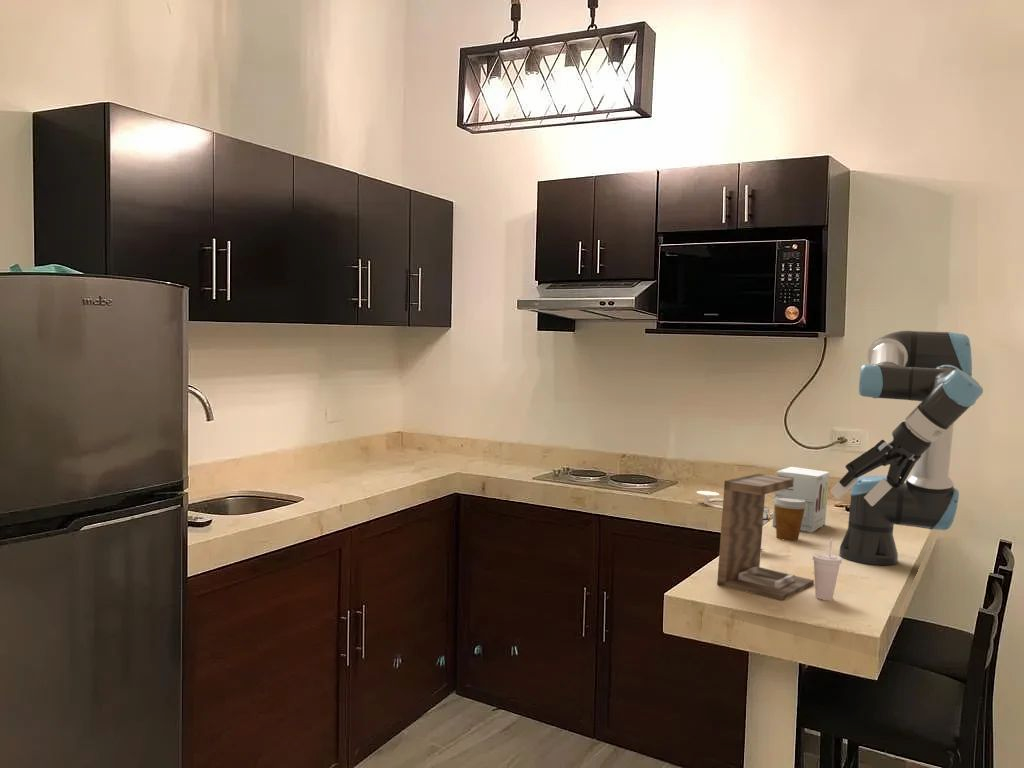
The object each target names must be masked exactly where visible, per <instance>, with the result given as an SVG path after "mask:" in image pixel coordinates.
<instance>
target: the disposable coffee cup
mask: <svg viewBox="0 0 1024 768" xmlns="http://www.w3.org/2000/svg"><path fill="white" fill-rule="evenodd" d="M774 500H775V501H773V505H775V517H776V526H775V530H776V531H775V534H776V535H775V536H776V538H777V539H779V538H780V539H779V540H782V539H784V540H783V541H787V540H790V542H795V540H796V541H798V540H799V537H800V532H801V531H800V528H801V523H802V518H803V514H804V509H805V507H806V503H805V500H803V499H799V498H793V497H776V498H775V497H774Z"/></svg>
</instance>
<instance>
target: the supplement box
mask: <svg viewBox="0 0 1024 768" xmlns="http://www.w3.org/2000/svg"><path fill="white" fill-rule="evenodd" d="M830 474H831V473H830V471H825V470H819V469H810V468H803V467H796V466H789V467H785V468H782V469H780V470H777V471H776V475H775V476H778V477H785V478H791V479H793V487H790V488H786V489H782V490H779V491H775V492H774V501H775V498H776V497H793V498H799V499H803V500H805V503H806V507H805V509H804V514H803V518H802V523H801V528H800V530H801V531H800V532H806V531H807V533H811V532H812V533H813V532H815V531H816V530H819V529H820V527H821V528H823V527H824V526H826V521H827V519H826V518H827V505H828V493H829V492H828V491H829V484H830V483H829V481H830ZM774 501H773V502H774ZM773 505H774V504H773ZM823 525H824V526H823ZM772 526H773V527H776V517H775V505H774V506H773V515H772ZM818 528H819V529H818Z"/></svg>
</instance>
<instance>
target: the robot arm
mask: <svg viewBox="0 0 1024 768" xmlns="http://www.w3.org/2000/svg"><path fill="white" fill-rule="evenodd" d="M972 359H973V358H972V348H971V341H970V338H969V336H968V335H966V334H964V333H959V332H958V333H957V332H956V333H955V332H951V331H923V330H921V331H919V330H918V331H916V330H914V331H913V330H900V331H894V332H891V333H888V334H885V335H883V336H881V337H878V339H876V340H875V341H873V342H872V344H871V345H870V347H869V348H868V352H867V363H868V364H862V365H861V367H860V371H859V383H858V394H859V395H860V396H862V397H866V398H872V399H890V400H903V401H904V400H905V401H914V402H919V404H918V405H917V406H916V407H915V408H914V409H913V410H912V411H911V412H910V413H909V414H908V415H907V416H906V417H905V421H901V423H899V425H897V426H896V427H895V429H894V430H892V433H891V435H892V438H893V439H892V441H889V442H888V443H887V442H886V441H885V440H884V439H880V441H879V442H877V444H875V445H874V446H873V447H870V449H868V450H867V451H865V452H864V453H862V454H861V455H859V456H857V457H856V458H854V459H853V460H851V461H850V462H849V463H847V464H846V465H845V469H846V470H847V472H846V473H845V474H844V475H843V477H841V479H839V480H838V482H836V484H834V485H833V486H832V488H831V489H829V492H830V493H831V494H832V495H833V497H834V498H835V499H836V501H840V500H841V499H842V498H843V496H845V495H846V494H847V492H848V491H850V493H849V495H850V502H849V503H850V504H849V511H848V512H849V514H848V525H847V529H846V532H845V534H844V537H843V539H842V541H841V543H840V546H839V551H838V552H839V553H838V554H839V557H841V558H844V559H845V560H848V561H849V560H850V561H853V562H857V563H861V564H866V565H867V564H868V565H875V566H876V565H878V566H893V565H896V564H898V560H899V553H898V549H897V545H896V542H895V539H894V538H895V537H894V525H896V526H897V525H898V526H905V527H913V528H920V529H926V530H930V531H933V530H938V531H947V530H948V529H950V528H951V527H952V525H953V524H954V520H955V517H956V513H957V510H958V509H957V508H958V502H959V498H960V497H959V495H960V492H959V489H957V488H956V487H954V484H955V483H954V481H953V480H952V479H951V477H950V476H949V471H950V462H951V461H950V460H951V453H952V452H951V451H952V445H953V444H952V442H953V433H954V423H955V422H956V421H957V420H958V419H959V418H960V417H961V416H962V415H964V413H966V412H967V410H969V408H970V407H972V406H974V405H975V404H976V402H977V400H978V399H980V397H981V396H982V395H983V393H984V390H983V387H982V385H981V384H980V383H979V382H978V380H976V379H975V378H974V377H973V374H972V372H973V363H972V361H973V360H972ZM888 465H889V467H888V472H887V475H879V474H877V475H875V474H874V475H866V474H868V473H870V472H872V471H873V470H876V469H877V468H879V467H882V466H883V467H886V466H888ZM911 472H912V473H911ZM905 481H906V482H905Z"/></svg>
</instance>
